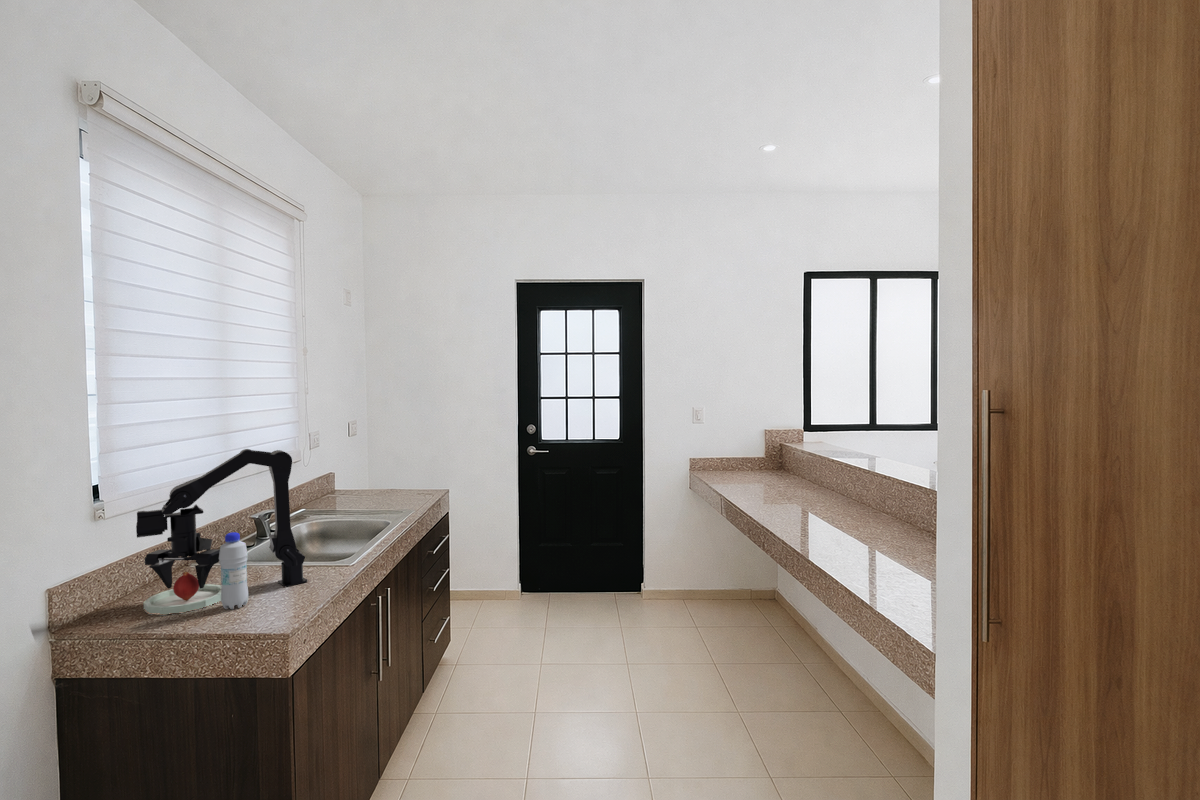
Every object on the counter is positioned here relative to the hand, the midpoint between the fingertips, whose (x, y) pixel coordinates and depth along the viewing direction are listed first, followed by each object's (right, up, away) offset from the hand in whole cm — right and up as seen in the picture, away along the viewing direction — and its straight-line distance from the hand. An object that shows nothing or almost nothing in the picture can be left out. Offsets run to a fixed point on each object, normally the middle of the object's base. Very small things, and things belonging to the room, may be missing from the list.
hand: (185, 588), depth 167 cm
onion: (0, -4, 0) cm, 4 cm away
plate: (0, -4, 0) cm, 4 cm away
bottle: (+16, -4, -4) cm, 17 cm away
